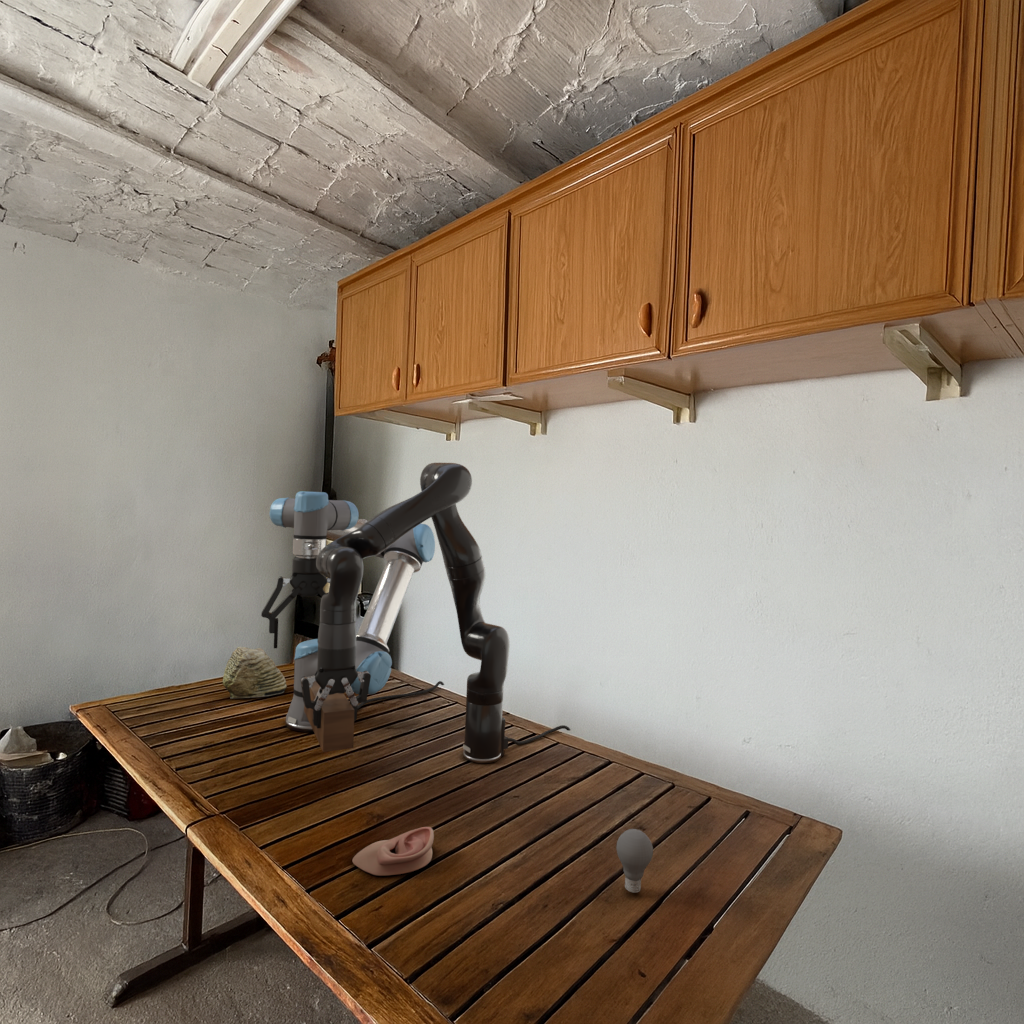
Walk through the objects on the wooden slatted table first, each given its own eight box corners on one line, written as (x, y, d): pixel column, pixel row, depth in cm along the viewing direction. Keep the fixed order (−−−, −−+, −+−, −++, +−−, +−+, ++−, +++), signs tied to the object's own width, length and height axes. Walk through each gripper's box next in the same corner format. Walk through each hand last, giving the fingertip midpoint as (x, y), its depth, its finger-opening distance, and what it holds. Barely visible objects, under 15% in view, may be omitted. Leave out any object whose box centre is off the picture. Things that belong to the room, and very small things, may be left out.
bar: (304, 711, 147) (305, 677, 146) (330, 708, 149) (331, 675, 149) (322, 752, 124) (324, 712, 124) (353, 748, 127) (354, 709, 127)
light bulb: (610, 879, 108) (613, 822, 108) (644, 879, 109) (647, 822, 109) (619, 902, 102) (622, 840, 102) (655, 901, 103) (658, 840, 103)
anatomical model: (344, 847, 108) (373, 814, 119) (343, 870, 108) (372, 835, 119) (418, 859, 105) (440, 825, 116) (417, 883, 105) (439, 846, 116)
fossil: (218, 695, 195) (220, 647, 195) (278, 685, 208) (279, 640, 207) (228, 703, 189) (230, 653, 188) (289, 692, 201) (290, 645, 201)
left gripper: (252, 557, 142) (248, 652, 142) (365, 558, 151) (361, 647, 151) (252, 554, 149) (249, 644, 149) (360, 555, 158) (357, 640, 158)
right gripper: (303, 650, 122) (300, 736, 123) (376, 645, 129) (374, 726, 129) (297, 641, 129) (295, 723, 130) (368, 637, 135) (365, 714, 136)
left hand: (306, 645), depth 150 cm, fingers open, 13 cm apart
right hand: (334, 724), depth 129 cm, fingers closed on bar, 6 cm apart
